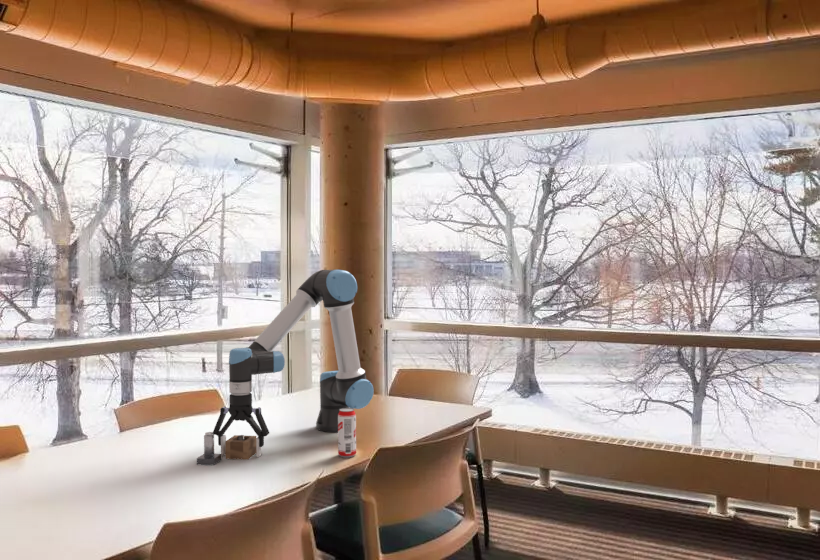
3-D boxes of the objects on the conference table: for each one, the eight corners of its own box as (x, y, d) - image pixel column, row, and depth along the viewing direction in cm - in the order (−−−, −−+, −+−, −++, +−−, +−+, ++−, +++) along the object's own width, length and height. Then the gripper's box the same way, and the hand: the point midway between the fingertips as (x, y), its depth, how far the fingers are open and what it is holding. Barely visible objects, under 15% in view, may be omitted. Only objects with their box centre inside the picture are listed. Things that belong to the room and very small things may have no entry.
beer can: (339, 458, 222) (339, 412, 221) (336, 453, 228) (336, 408, 227) (357, 457, 223) (357, 410, 223) (354, 452, 229) (354, 407, 229)
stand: (238, 454, 228) (238, 434, 228) (248, 454, 227) (248, 434, 227) (234, 457, 224) (234, 436, 224) (244, 457, 224) (244, 437, 224)
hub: (204, 459, 222) (204, 430, 222) (221, 459, 221) (221, 430, 221) (196, 464, 216) (196, 435, 216) (214, 465, 215) (213, 435, 215)
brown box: (234, 452, 230) (234, 435, 230) (256, 452, 229) (256, 435, 229) (225, 458, 222) (225, 441, 222) (248, 459, 221) (247, 442, 221)
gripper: (202, 394, 223) (202, 457, 223) (271, 396, 220) (271, 459, 220) (211, 390, 230) (212, 451, 231) (278, 391, 228) (278, 453, 228)
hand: (241, 455), depth 226 cm, fingers open, 12 cm apart
